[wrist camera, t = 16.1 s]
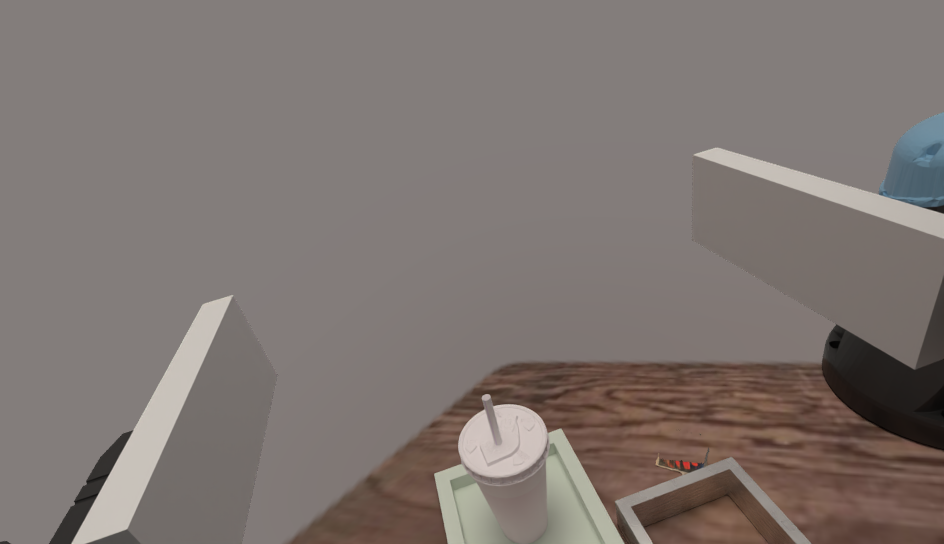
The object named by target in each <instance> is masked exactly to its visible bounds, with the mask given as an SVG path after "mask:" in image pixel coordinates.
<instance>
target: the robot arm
mask: <svg viewBox="0 0 944 544" xmlns="http://www.w3.org/2000/svg"><path fill="white" fill-rule="evenodd" d="M692 196H693V198H692V200H693V201H692V206H693V207H692V240H693V241H695V242H696V243H698V244H700V245H702V246H703V247H705V248H707V249H708V250H710V251H712V252H713V253H715V254H717V255H719V256H720V257H722V258H724V259H725V260H727V261H729V262H731V263H732V264H734V265H736V266H738V267H739V268H741V269H743V270H744V271H746V272H748V273H750V274H751V275H753V276H755V277H756V278H758V279H760V280H762V281H763V282H765V283H767V284H768V285H770V286H772V287H774V288H775V289H777V290H779V291H780V292H782V293H784V294H786V295H787V296H789V297H791V298H793V299H794V300H796V301H798V302H799V303H801V304H803V305H804V306H806V307H808V308H810V309H811V310H813V311H815V312H817V313H818V314H820V315H822V316H824V317H825V318H827V319H828V320H830V321H832V322H834V323H835V324H836V326H835V327H834V328H833V330H832V331H831V332H830V334H829V336H828V339H827V340H826V344H825V349H824V354H823V360H822V369H823V373H824V376H825V378H826V380H827V382H828V384H829V385H830V387H831V388H832V390H833V391H834V392H835V393H836V394H837V395H838V397H839V398H841V399H842V400H843V401H844V402H845V403H846V404H847V405H848V406H850V407H851V408H852V409H853V410H855V411H856V412H858V413H859V414H860V415H862V416H864V417H865V418H867V419H868V420H870V421H872V422H874V423H875V424H877V425H879V426H881V427H883V428H885V429H887V430H889V431H891V432H894V433H896V434H898V435H901V436H903V437H906V438H909V439H911V440H914V441H917V442H920V443H923V444H927V445H930V446H934V447H938V448H942V449H944V112H943V113H940V114H937V115H935V116H932V117H930V118H928V119H926V120H924V121H922V122H920V123H918V124H917V125H915V126H913V127H912V128H911V129H909V130H908V131H907V132H906V133H905V134H904V135H903V136H902V137H901V138H900V139H899V141H898V142H897V144H896V146H895V148H894V150H893V154H892V157H891V161H890V164H889V168H888V171H887V175H886V178H885V180H884V181H883V182H882V184H881V186H880V188H879V195H878V194H874V193H870V192H867V191H864V190H860V189H857V188H854V187H850V186H846V185H843V184H840V183H837V182H833V181H830V180H826V179H823V178H819V177H816V176H813V175H809V174H806V173H802V172H799V171H795V170H792V169H789V168H785V167H782V166H778V165H775V164H771V163H768V162H765V161H761V160H758V159H754V158H751V157H748V156H744V155H740V154H737V153H734V152H731V151H727V150H724V149H720V148H713V149H710V150H707V151H704V152H701V153H697V154H694V155H693V194H692ZM276 380H277V373H276V371H275V369H274V368H273V366H272V364H271V362H270V360H269V359H268V357H267V355H266V353H265V351H264V350H263V348H262V346H261V344H260V343H259V341H258V339H257V337H256V335H255V334H254V332H253V330H252V328H251V326H250V325H249V323H248V321H247V319H246V317H245V316H244V314H243V312H242V310H241V308H240V307H239V305H238V303H237V301H236V299H235V298H234V296H233V295H231V296H228V297H225V298H222V299H218V300H215V301H212V302H208V303H205V304H203V305H202V307H201V309H200V311H199V312H198V314H197V316H196V318H195V320H194V322H193V324H192V325H191V327H190V329H189V331H188V333H187V334H186V336H185V338H184V340H183V342H182V343H181V345H180V347H179V349H178V351H177V353H176V354H175V356H174V358H173V360H172V362H171V363H170V365H169V367H168V369H167V371H166V372H165V374H164V376H163V378H162V380H161V382H160V383H159V385H158V387H157V389H156V391H155V392H154V394H153V396H152V398H151V400H150V402H149V403H148V405H147V407H146V409H145V411H144V412H143V414H142V416H141V418H140V420H139V422H138V424H137V425H136V427H135V429H134V430H133V431H130V432H127V433H124V434H122V435H121V436H120V437H119V438H118V439H117V440H116V442H115V443H114V444H113V445H112V446H111V447H110V448H109V449H108V450H107V451H106V452H105V453H104V454H103V455H102V456H101V457H100V459H99V460H98V462H97V464H96V465H95V467H94V469H93V471H92V473H91V474H90V476H89V477H88V479H87V481H86V482H87V485H85V486H83V487H82V489H81V491H80V492H79V494H78V496H77V497H76V499H75V501H74V502H75V505H74V506H72V507H71V508H70V509H69V511H68V513H67V514H66V516H65V518H64V519H63V521H62V523H61V524H60V526H59V528H58V529H57V531H56V533H55V535H54V537H53V538H52V540H51V541H50V543H49V544H242V541H243V536H244V531H245V527H246V522H247V517H248V512H249V508H250V503H251V498H252V494H253V489H254V484H255V479H256V474H257V470H258V465H259V460H260V456H261V451H262V446H263V442H264V437H265V431H266V427H267V422H268V418H269V413H270V408H271V404H272V399H273V394H274V389H275V385H276ZM0 544H10V543H9V542H7V541H3V542H0Z"/></svg>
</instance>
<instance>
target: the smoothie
mask: <svg viewBox="0 0 944 544" xmlns="http://www.w3.org/2000/svg"><path fill="white" fill-rule="evenodd" d="M482 400H483V404H484V408H485V410H483V411H481V412H479V413H478V414H476V415H475V416H474V417H473V418H472V419H470V420H469V422H468V423H467V424H466V425H465V427H464V428H463V430H462V432H461V434H460V437H459V442H458V449H459V454H460V457H461V462H462V465H463V467H464V469H465V470H466V472H467V473H468V474H469V475H470V476H471V477H472V478H473V479H475V481H476V483H477V484H478V486H479V488H480V490H481V491H482V493H483V495H484V497H485V499H486V501H487V502H488V504H489V506H490V508H491V510H492V512H493V514H494V515H495V517H496V519H497V521H498V523H499V525H500V526H501V528H502V530H503V532H504V534H505V535H506V537H507V538H508V539H510V540H511V541H513V542H515V543H518V544H529V543H532V542H535V541H536V540H538V539H539V538H540V537H541V536H542V535H543V534H544V532H545V530H546V528H547V522H548V519H547V483H546V459H547V457H548V453H549V449H550V442H549V436H548V433H547V430H546V426H545V424H544V422H543V420H542V419H541V418H540V417H539V416H538V415H537V414H536V413H535V412H533V411H532V410H530V409H528V408H526V407H523V406H519V405H512V404H505V405H498V406H493V405H492V401H491V397H490V395H488V394H486V395H484V396H483V397H482Z"/></svg>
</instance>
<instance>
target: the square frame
mask: <svg viewBox="0 0 944 544" xmlns="http://www.w3.org/2000/svg"><path fill="white" fill-rule="evenodd" d="M725 495H729V496H730V497H731V499H732V500H733V501H734V502H735V503H736V505H737V506H738V507H739V508H740V509H741V511H742V512H743V513H744V514H745V515H746V517H747V518H748V519H749V520H750V521H751V523H752V524H753V525H754V526H755V527H756V529H757V530H758V531H759V532H760V533H761V534H762V536H763V537H764V538H765V539H766V540H767V542H768V543H769V544H811V543H810V542H809V540H808V539H807V538H806V537H805V536H804V535H803V534H802V533H801V532H800V531H799V530H798V528H797V527H796V526H795V525H794V524H793V523H792V522H791V521H790V520H789V519H788V518H787V517H786V515H785V514H784V513H783V512H782V511H781V510H780V509H779V508H778V507H777V506H776V505H775V503H774V502H773V501H772V500H771V499H770V498H769V497H768V496H767V495H766V494H765V493H764V492H763V490H762V489H761V488H760V487H759V486H758V485H757V484H756V483H755V482H754V481H753V480H752V478H751V477H750V476H749V475H748V474H747V473H746V472H745V471H744V470H743V469H742V468H741V467H740V465H739V464H738V463H737V462H736V461H735V460H734V459H733V458H732V457H730V458H727V459H725V460H722V461H719V462H717V463H714V464H711V465H709V466H706V467H704V468H701V469H698V470H696V471H693V472H690V473H688V474H685V475H683V476H680V477H677V478H675V479H672V480H669V481H667V482H664V483H661V484H659V485H656V486H654V487H651V488H648V489H646V490H643V491H640V492H638V493H635V494H632V495H630V496H627V497H625V498H622V499H619V500H617V501H615V505H616V514H617V522H618V527H619V528H620V530H621V532H622V534H623V536H624V537H625V539H626V541H627V543H628V544H653V543H652V541H651V539H650V538H649V536H648V535H647V533H646V531H645V530H644V528H643V527H645V526H648V525H650V524H653V523H655V522H658V521H661V520H663V519H666V518H668V517H671V516H673V515H676V514H679V513H681V512H684V511H686V510H689V509H691V508H694V507H697V506H699V505H702V504H704V503H707V502H709V501H712V500H715V499H717V498H720V497H722V496H725Z"/></svg>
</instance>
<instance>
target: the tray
mask: <svg viewBox="0 0 944 544" xmlns="http://www.w3.org/2000/svg"><path fill="white" fill-rule="evenodd" d="M548 436H549V442H550V449H549V453H548V457H547V459H546V483H547V519H548V522H547V528H546V530H545V532H544V534H543V535H542V536H541V537H540V538H539V539H538V540H536V541H535V542H532V543H529V544H624V542H623V540H622V539H621V537H620V535H619V533H618V531H617V529H616V528H615V526H614V524H613V522H612V520H611V518H610V517H609V515H608V513H607V511H606V509H605V508H604V506H603V504H602V502H601V500H600V498H599V497H598V495H597V493H596V491H595V489H594V487H593V486H592V484H591V482H590V480H589V478H588V476H587V475H586V473H585V471H584V469H583V467H582V466H581V464H580V462H579V460H578V458H577V456H576V455H575V453H574V451H573V449H572V447H571V445H570V444H569V442H568V440H567V438H566V436H565V435H564V433H563V431H562V429H558V430H555V431H553V432H550V433H548ZM434 475H435V480H436V485H437V490H438V495H439V500H440V505H441V510H442V515H443V521H444V526H445V531H446V536H447V541H448V544H518V543H515V542H513V541H511V540H510V539H508V538H507V537H506V535H505V534H504V532H503V530H502V528H501V526H500V525H499V523H498V521H497V519H496V517H495V515H494V514H493V512H492V510H491V508H490V506H489V504H488V502H487V501H486V499H485V497H484V495H483V493H482V491H481V490H480V488H479V486H478V484H477V483H476V481H475V479H473V478H472V477H471V476H470V475H469V474H468V473H467V472H466V470H465V469H464V467H463V465H462V464H460V465H458V466H455V467H452V468H449V469H446V470H444V471H441V472H438V473H435V474H434Z"/></svg>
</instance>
